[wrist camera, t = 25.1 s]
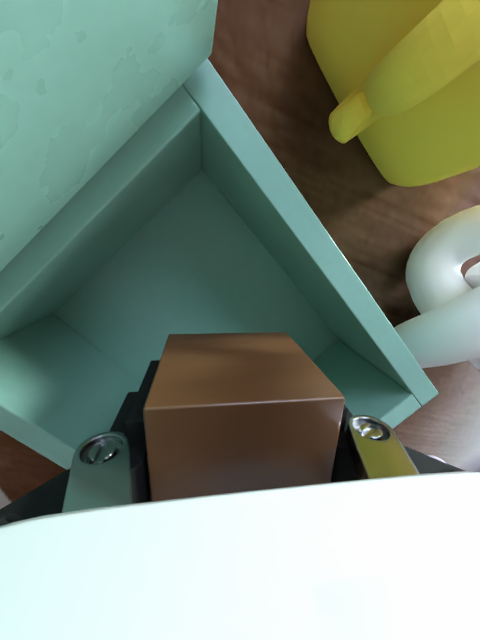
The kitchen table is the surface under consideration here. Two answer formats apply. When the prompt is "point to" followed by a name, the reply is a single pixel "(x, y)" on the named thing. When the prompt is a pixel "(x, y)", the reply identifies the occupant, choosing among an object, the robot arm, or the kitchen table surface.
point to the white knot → (445, 294)
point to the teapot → (403, 82)
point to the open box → (183, 278)
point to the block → (238, 416)
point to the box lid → (82, 93)
